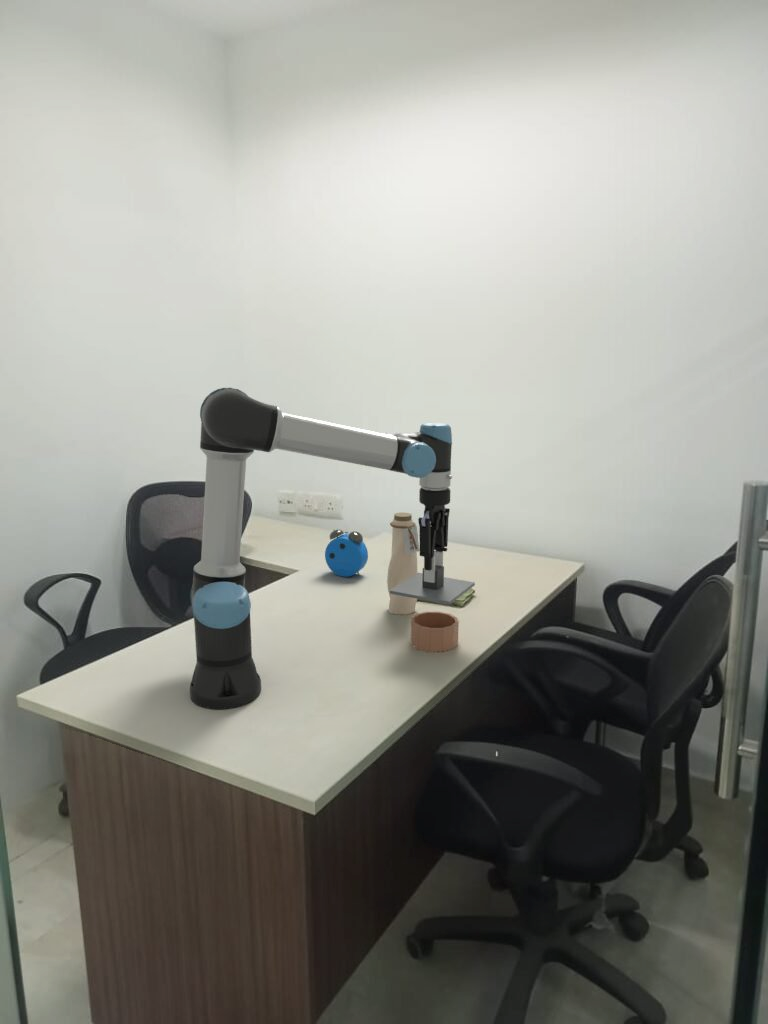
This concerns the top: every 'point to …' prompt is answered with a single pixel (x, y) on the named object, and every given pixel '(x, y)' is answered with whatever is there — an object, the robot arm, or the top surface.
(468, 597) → the washcloth
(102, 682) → the top surface
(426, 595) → the cover sheet
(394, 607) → the water bottle
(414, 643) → the bowl
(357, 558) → the alarm clock
